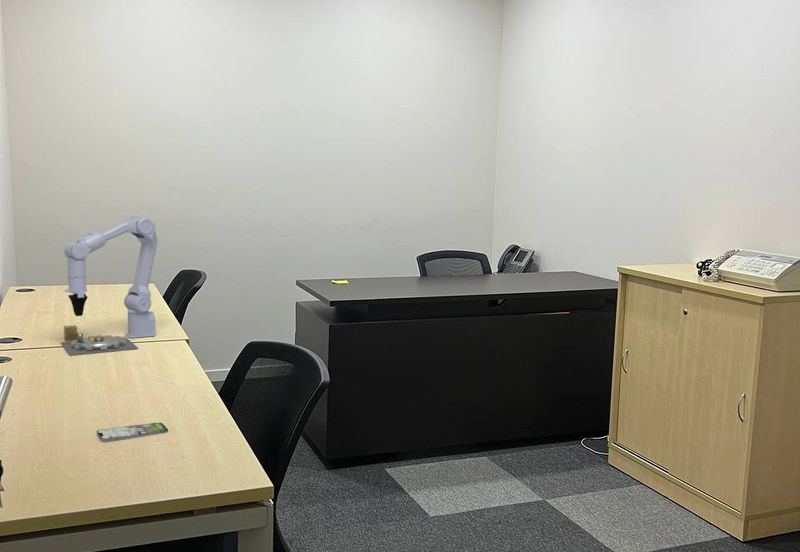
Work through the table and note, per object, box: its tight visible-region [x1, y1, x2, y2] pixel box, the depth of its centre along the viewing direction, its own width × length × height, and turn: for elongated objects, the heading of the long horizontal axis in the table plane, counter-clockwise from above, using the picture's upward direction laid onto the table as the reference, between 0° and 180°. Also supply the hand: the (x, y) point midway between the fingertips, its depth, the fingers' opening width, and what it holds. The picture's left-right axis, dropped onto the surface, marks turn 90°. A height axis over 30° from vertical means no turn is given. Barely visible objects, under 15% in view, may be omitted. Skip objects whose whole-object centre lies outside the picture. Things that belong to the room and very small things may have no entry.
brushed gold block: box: [63, 324, 78, 342], centre depth 275 cm, size 4×4×5 cm
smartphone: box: [96, 422, 169, 443], centre depth 179 cm, size 7×1×15 cm
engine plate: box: [60, 336, 139, 357], centre depth 267 cm, size 22×21×1 cm
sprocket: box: [70, 332, 127, 350], centre depth 266 cm, size 18×18×4 cm
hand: (78, 315), depth 268 cm, fingers closed
